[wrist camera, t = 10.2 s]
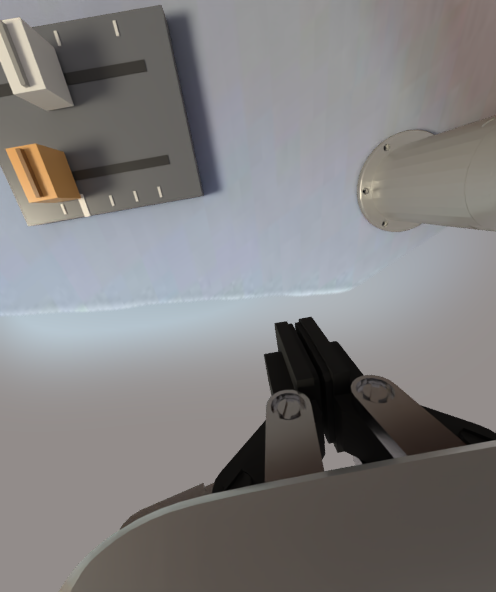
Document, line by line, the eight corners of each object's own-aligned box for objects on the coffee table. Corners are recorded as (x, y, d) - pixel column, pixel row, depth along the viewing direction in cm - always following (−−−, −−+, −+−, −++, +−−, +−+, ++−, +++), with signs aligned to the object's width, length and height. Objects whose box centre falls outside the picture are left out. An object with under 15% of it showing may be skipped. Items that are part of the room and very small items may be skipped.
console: (166, 20, 28) (160, 4, 25) (204, 196, 34) (202, 196, 32) (-33, 55, 28) (-58, 41, 25) (42, 225, 34) (28, 227, 32)
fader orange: (63, 152, 29) (31, 142, 24) (81, 198, 31) (53, 197, 26) (37, 156, 29) (-1, 147, 24) (56, 202, 31) (24, 202, 26)
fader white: (54, 47, 26) (14, 12, 21) (74, 106, 28) (41, 85, 23) (24, 52, 26) (-22, 18, 21) (46, 110, 28) (8, 91, 23)
